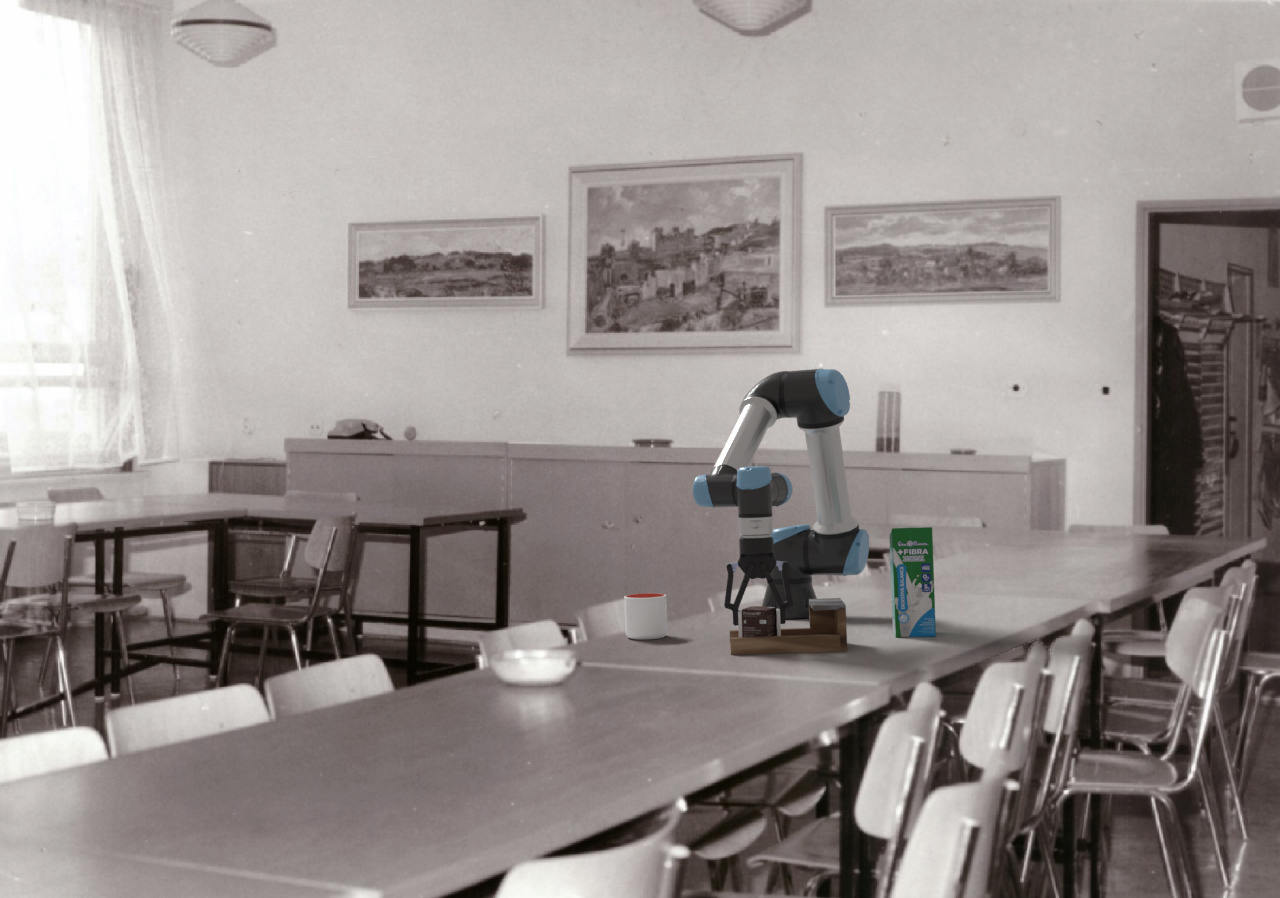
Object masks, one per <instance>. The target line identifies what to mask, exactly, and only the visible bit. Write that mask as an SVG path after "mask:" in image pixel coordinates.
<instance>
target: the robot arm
mask: <svg viewBox="0 0 1280 898" xmlns="http://www.w3.org/2000/svg"><path fill="white" fill-rule="evenodd" d="M849 389H850V388H849V386H848V383H847V381H846V379H845V377H844V376H843V374H842V373H841V372H840V371H839V370H836V369H834V368H831V369H830V368H826V369H825V368H812V369H802V370H801V369H799V370H790V371H788V370H781V371H777V372H773V373H772V374H769V375H767V376H766V377H764V378H762V379H761V380H759V381H758V382H757V383H756V384H754V386H753V387H751V389H750V390H748V392H747V393H746V395H745V396H744V397H743V399H742V400H741V403H740V406H739V409H738V410H739V416H738V418H737V420H736V422H735V424H734V425H733V428H732V430H731V432H730V434H729V436H728V438H727V440H726V442H725V444H724V445H723V447H722V450H721V452H720V453H719V455H718V458H717V460H716V461H715V462H714V465H713V467H712V469H711V471H710V472H709V474H707V473H705V474H701V475H698V476H697V475H696V477H695V479H694V480H693V482H692V495H693V496H692V497H693V499H694V502H695V504H696V505H697V506H699V507H701V508H702V507H703V508H705V507H706V508H713V509H715V508H737V509H738V510H737V511H738V512H737V513H738V535H739V536H740V538H738V542H739V558H738V561H735V562H727V563H726V571H727V578H726V579H727V580H726V587H725V596H724V604H723V607H724V608H725V609H727V610H731V612H732V624H733V626H738V629H737V630H739V637H742V609H739V608H740V605H741V602H742V600H743V597H744V595H745V592H746V590H747V586H748V584H749V582H750V580H756V579H761V580H762V579H766V590H765V592H764V595H763V600H762V604H761V606H765V607H776V623H777V636H781V629H782V628H781V627H782V626H781V625H786V621H787V619H788V620H791V619H792V620H793V619H805V618H806V619H807V618H808V619H809V599H818V597H817V594H816V592H815V589H814V587H813V576H840V577H841V576H843V577H847V576H857V575H858V576H859V575H860V574H861V573H862V572H863V571H864V570H865V567H866V566H867V561H868V558H869V551H870V536H869V535H870V534H869V533H868V531H867V530H866V529H864V528H860V525H859V520H858V518H855V517H854V516H853V515H852V511H851V510H852V509H851V504H850V503H851V502H850V495H849V490H848V489H849V488H848V482H847V480H848V479H847V474H846V466H845V459H844V452H843V445H842V436H841V432H840V427H841V426H842V425H843V423H844V421H845V416H846V415H848V414H849V412H850V408H851V403H850V400H851V396H850V391H849ZM787 418H788V419H793V418H796V422H797V423H796V424H797V427H798V429H800V430H801V431H803V432H804V436H805V443H806V444H805V445H806V449H807V450H806V451H807V456H808V461H809V470H810V475H811V476H810V477H811V484H812V491H813V497H814V505H815V511H816V518H817V520H816V522H815V523H814V524H813V525H812V527H811V525H810V524H808V523H804V524H799V525H792V526H785V527H778V528H774V525H773V524H774V521H773V520H774V517H773V507H780V506H782V505H784V504H786V503H787V502H789V500H790V498H791V496H792V494H793V484H792V481H791V480H790V478H789V477H787V475H785V474H784V473H781V472H777V471H776V472H771V469H770V467H769V466H766V465H752V466H751V464H752V462H753V460H754V457H755V455H756V453H757V451H758V449H759V447H760V445H761V443H762V441H763V439H764V437H765V434H766V433H767V431H768V429H770V428H772V427H773V426H774V425H775V424H776V421H778V420H780V419H787ZM738 567H739V569H740V570H741V571H742V572H743V574H744V575H743V578H742V581H741V583H740V586H739V589H738V591H737V594H736V596H735V599H734V602H733V603H731V599H732V590H733V585H734V583H733V582H734V573H736V572H737V568H738Z"/></svg>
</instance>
